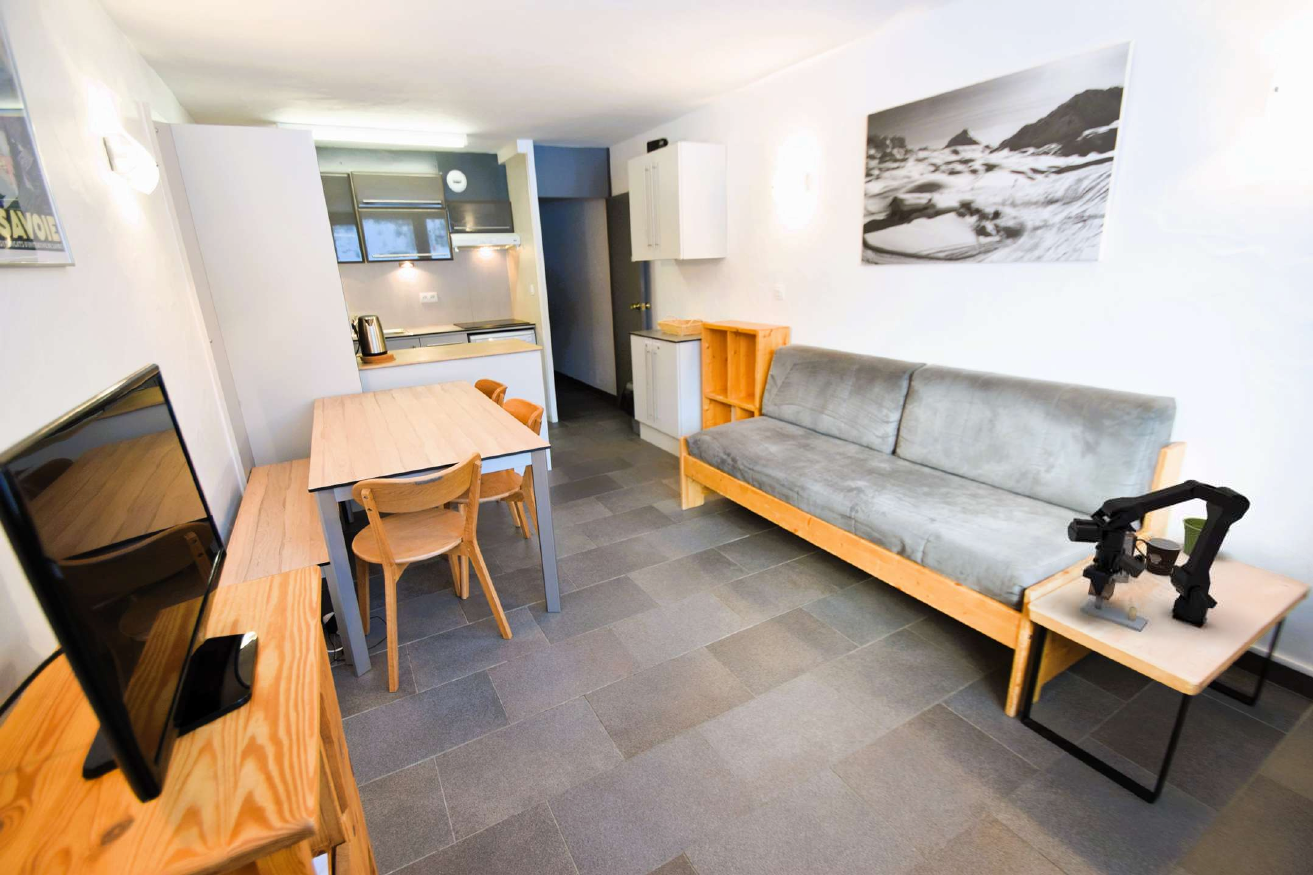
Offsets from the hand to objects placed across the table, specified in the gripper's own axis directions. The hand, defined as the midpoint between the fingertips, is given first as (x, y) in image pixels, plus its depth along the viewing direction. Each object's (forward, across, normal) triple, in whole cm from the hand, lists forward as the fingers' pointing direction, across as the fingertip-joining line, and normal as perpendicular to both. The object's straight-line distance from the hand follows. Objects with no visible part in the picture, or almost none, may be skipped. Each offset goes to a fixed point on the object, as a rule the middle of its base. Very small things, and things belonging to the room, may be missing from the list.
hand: (1101, 591), depth 170 cm
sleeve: (+1, 0, 0) cm, 1 cm away
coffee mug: (+7, +41, -4) cm, 42 cm away
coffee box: (+7, +26, +4) cm, 27 cm away
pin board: (+6, 0, -4) cm, 7 cm away
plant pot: (+7, +63, -11) cm, 64 cm away
